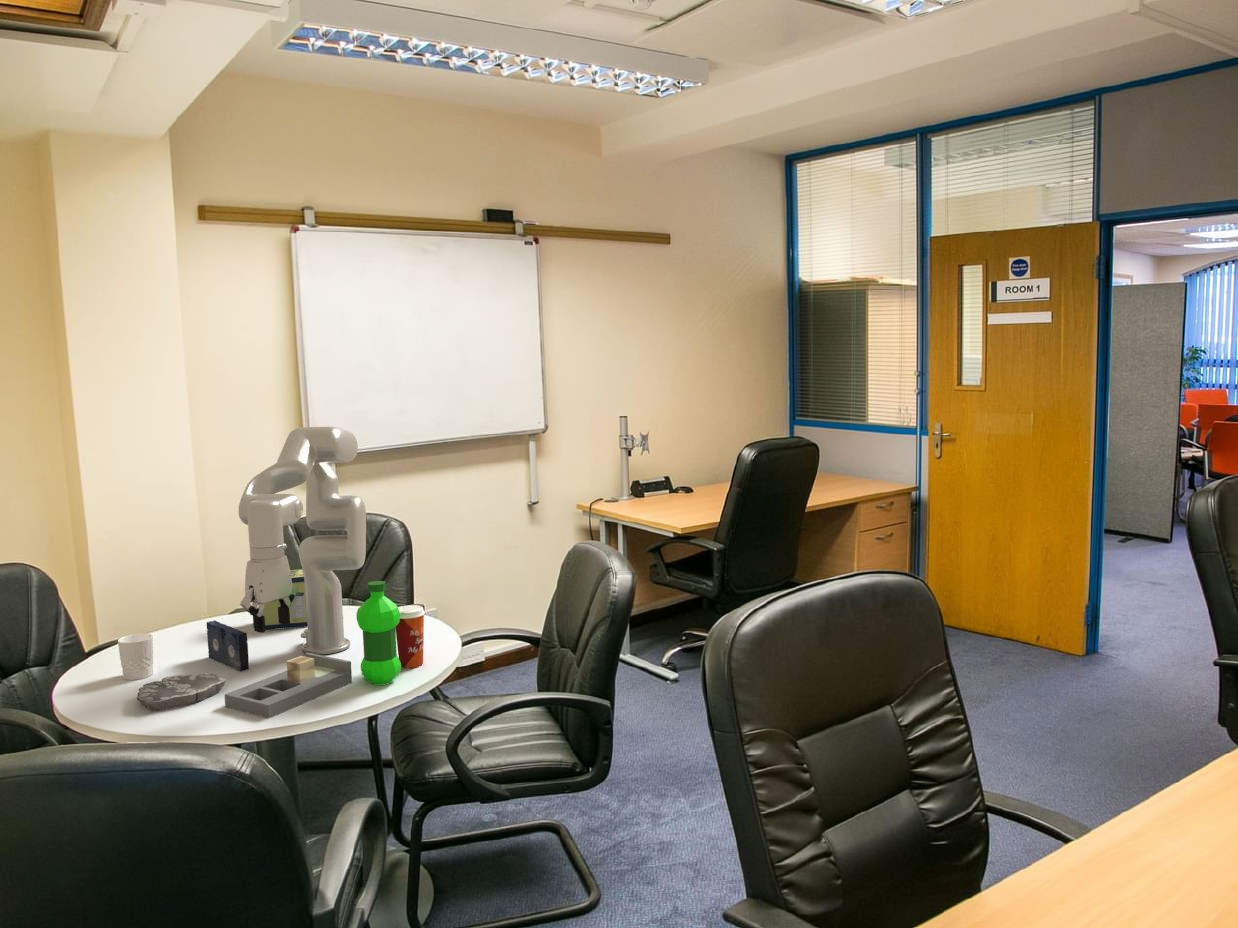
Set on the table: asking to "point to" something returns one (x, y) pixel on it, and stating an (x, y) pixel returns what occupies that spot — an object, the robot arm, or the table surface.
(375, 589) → the plastic bottle
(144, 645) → the white cup
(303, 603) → the protein box
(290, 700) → the box
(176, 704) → the brain slice
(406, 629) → the coffee cup
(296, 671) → the birch block
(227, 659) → the vhs cassette tape
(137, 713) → the table surface
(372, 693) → the table surface
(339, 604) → the robot arm
